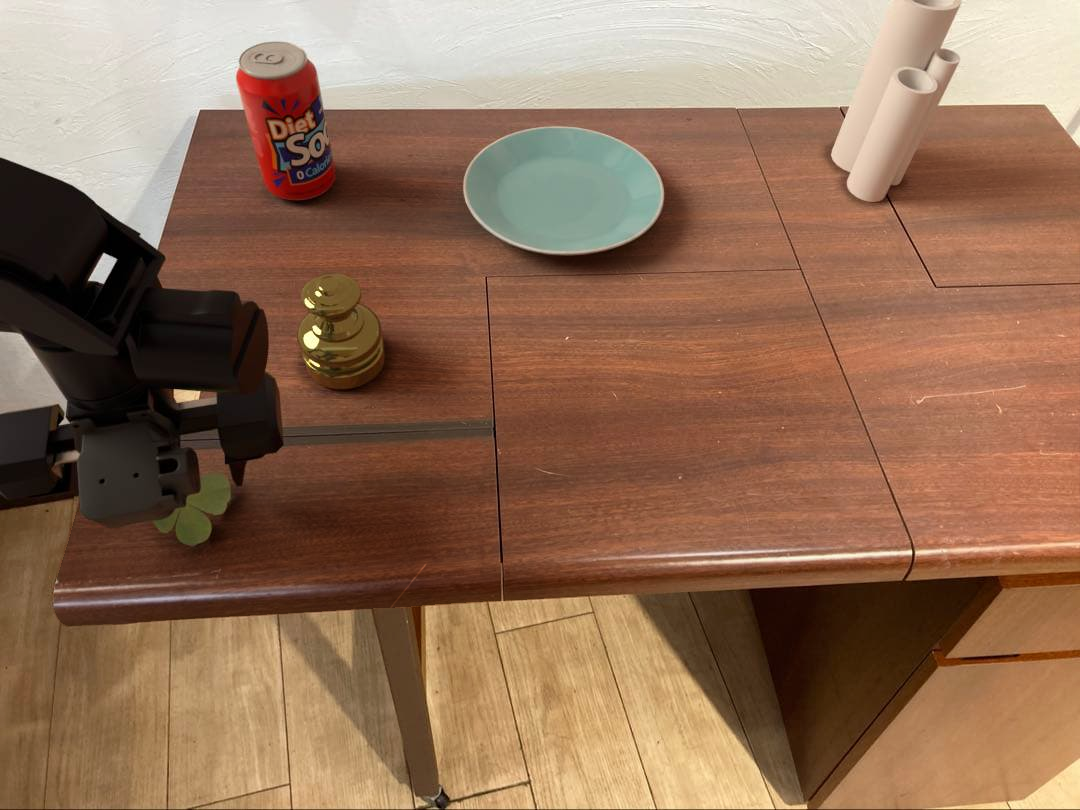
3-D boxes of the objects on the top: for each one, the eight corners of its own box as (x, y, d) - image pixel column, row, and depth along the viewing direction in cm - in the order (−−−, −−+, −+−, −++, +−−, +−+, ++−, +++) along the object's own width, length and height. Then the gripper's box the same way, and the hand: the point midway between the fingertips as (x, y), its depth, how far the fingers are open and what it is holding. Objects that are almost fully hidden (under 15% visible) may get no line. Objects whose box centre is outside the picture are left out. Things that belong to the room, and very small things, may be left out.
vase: (822, 144, 100) (885, -21, 84) (877, 141, 101) (949, -22, 85) (856, 202, 94) (930, 36, 78) (914, 200, 95) (1000, 34, 79)
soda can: (277, 159, 93) (246, 33, 81) (344, 166, 93) (323, 40, 81) (256, 202, 88) (219, 75, 77) (327, 210, 88) (301, 83, 76)
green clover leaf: (190, 538, 69) (244, 527, 66) (106, 569, 62) (163, 558, 59) (167, 457, 69) (220, 443, 66) (80, 480, 62) (136, 465, 59)
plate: (430, 238, 86) (428, 218, 84) (507, 127, 99) (507, 106, 97) (628, 297, 83) (631, 277, 80) (681, 173, 95) (686, 153, 93)
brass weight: (341, 320, 79) (324, 242, 71) (402, 353, 77) (391, 276, 69) (288, 368, 75) (264, 291, 67) (350, 404, 73) (333, 329, 65)
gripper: (-86, 502, 45) (39, 613, 57) (262, 442, 48) (308, 559, 61) (-51, 352, 51) (54, 482, 64) (253, 309, 55) (297, 440, 67)
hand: (179, 492), depth 64 cm, fingers open, 9 cm apart
